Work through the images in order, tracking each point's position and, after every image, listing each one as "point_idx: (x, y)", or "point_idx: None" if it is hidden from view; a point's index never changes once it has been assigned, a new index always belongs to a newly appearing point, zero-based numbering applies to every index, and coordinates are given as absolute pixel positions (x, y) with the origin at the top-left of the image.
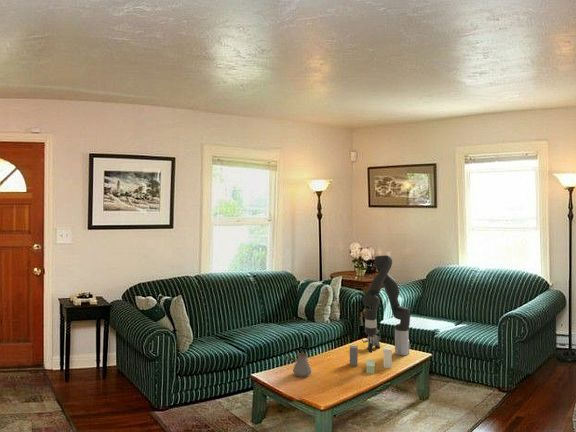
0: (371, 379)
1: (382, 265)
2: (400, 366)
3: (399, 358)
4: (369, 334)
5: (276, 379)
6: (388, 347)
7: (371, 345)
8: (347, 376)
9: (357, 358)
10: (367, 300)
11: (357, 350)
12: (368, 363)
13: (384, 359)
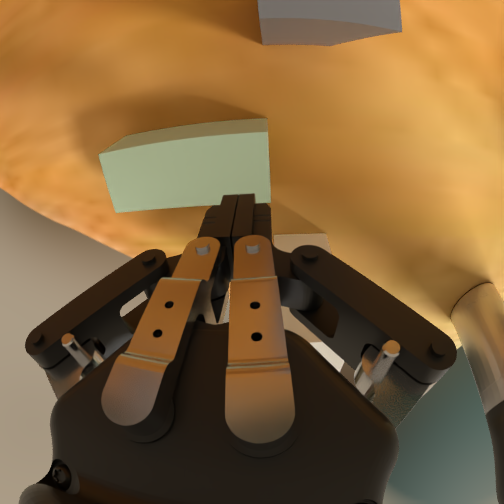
0: (53, 183)
1: None
2: None
3: (424, 301)
4: (45, 478)
5: None
6: (338, 363)
7: (148, 302)
8: (41, 49)
9: (334, 41)
10: None
11: (291, 26)
12: (153, 160)
13: None
